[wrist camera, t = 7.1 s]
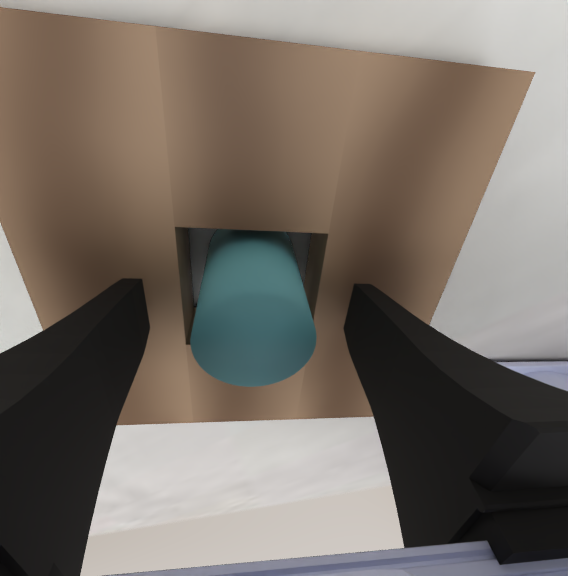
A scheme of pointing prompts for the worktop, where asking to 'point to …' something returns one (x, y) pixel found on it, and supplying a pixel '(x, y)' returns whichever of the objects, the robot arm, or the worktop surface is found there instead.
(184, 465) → the worktop surface
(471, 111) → the walnut collar plate
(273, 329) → the teal peg
